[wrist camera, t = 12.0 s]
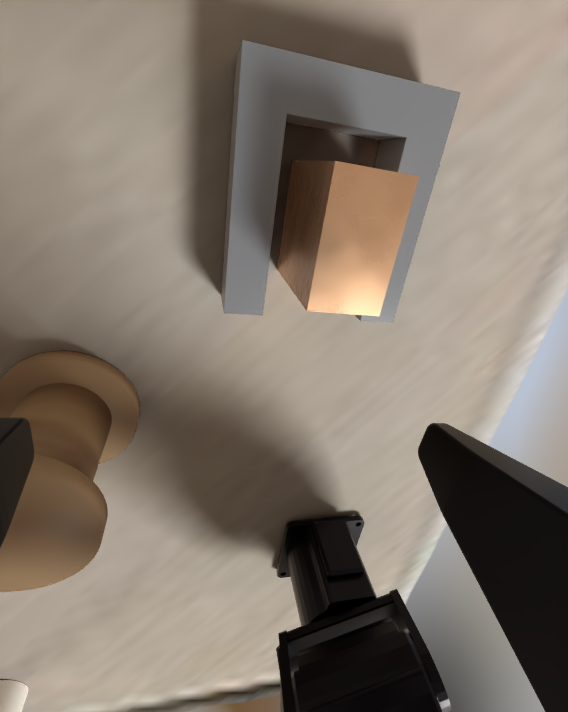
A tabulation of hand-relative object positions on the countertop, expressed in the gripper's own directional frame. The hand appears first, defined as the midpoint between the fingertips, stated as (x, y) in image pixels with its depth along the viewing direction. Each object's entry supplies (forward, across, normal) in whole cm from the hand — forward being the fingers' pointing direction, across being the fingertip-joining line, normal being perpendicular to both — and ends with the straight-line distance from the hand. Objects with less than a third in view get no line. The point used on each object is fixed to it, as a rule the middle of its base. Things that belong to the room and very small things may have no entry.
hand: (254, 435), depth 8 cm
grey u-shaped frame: (+12, -4, -4) cm, 13 cm away
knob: (+12, +8, +8) cm, 16 cm away
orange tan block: (+12, -4, -4) cm, 13 cm away
